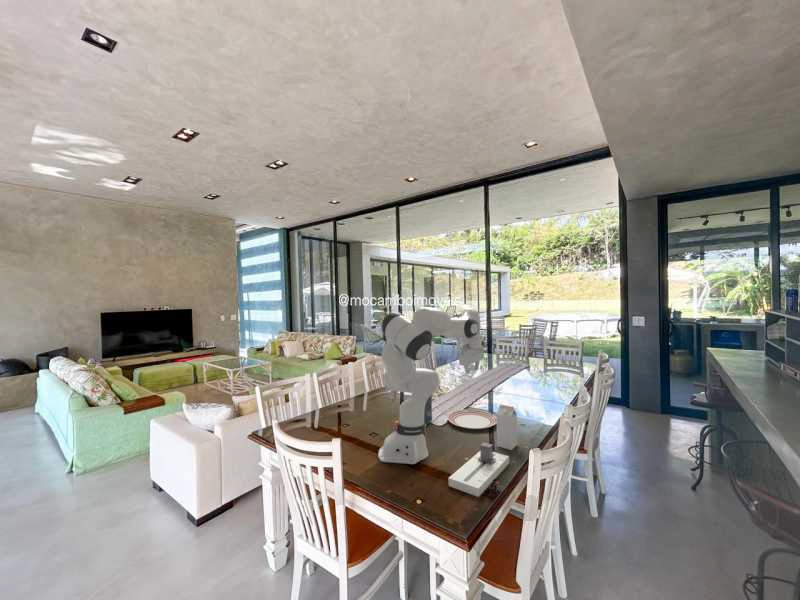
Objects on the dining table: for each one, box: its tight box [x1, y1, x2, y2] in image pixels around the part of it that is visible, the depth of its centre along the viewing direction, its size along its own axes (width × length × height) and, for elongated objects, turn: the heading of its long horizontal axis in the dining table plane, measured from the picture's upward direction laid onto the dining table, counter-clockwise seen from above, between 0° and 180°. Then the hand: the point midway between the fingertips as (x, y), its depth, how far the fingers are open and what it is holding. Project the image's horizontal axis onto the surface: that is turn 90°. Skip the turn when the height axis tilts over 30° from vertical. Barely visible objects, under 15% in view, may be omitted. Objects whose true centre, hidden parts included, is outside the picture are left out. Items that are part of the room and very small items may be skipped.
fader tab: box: [478, 442, 496, 464], centre depth 139 cm, size 4×6×6 cm
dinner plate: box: [447, 409, 497, 430], centre depth 190 cm, size 28×27×3 cm
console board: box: [448, 450, 510, 498], centre depth 135 cm, size 30×12×3 cm, turn 142°
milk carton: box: [496, 404, 518, 451], centre depth 160 cm, size 7×7×19 cm
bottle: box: [424, 395, 433, 424], centre depth 195 cm, size 10×10×30 cm
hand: (472, 371), depth 165 cm, fingers open, 8 cm apart
